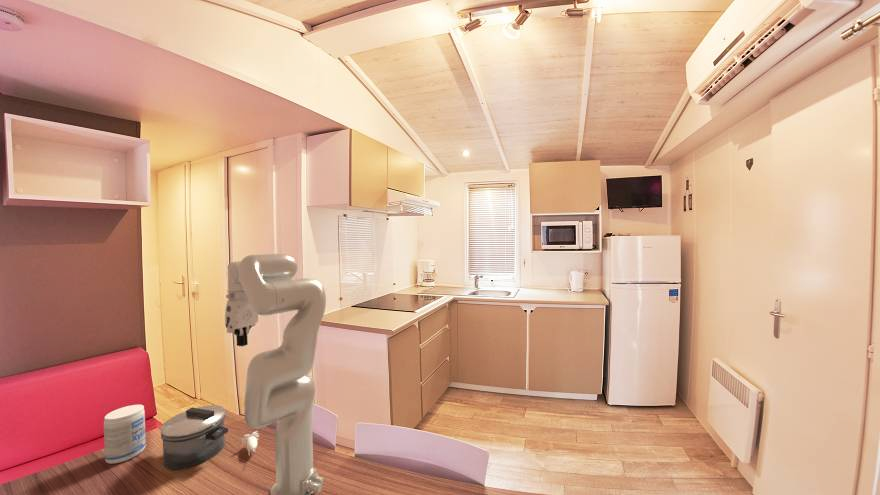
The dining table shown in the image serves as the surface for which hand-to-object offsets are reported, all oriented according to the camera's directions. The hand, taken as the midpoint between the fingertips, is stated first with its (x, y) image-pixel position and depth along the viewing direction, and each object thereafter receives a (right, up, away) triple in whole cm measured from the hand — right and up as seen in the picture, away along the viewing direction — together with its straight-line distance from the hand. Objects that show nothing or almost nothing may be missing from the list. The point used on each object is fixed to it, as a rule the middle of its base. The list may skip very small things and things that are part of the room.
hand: (242, 345), depth 110 cm
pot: (-10, -33, -9) cm, 36 cm away
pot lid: (-10, -23, -9) cm, 27 cm away
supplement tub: (-33, -34, -9) cm, 48 cm away
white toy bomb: (+9, -33, -9) cm, 36 cm away
